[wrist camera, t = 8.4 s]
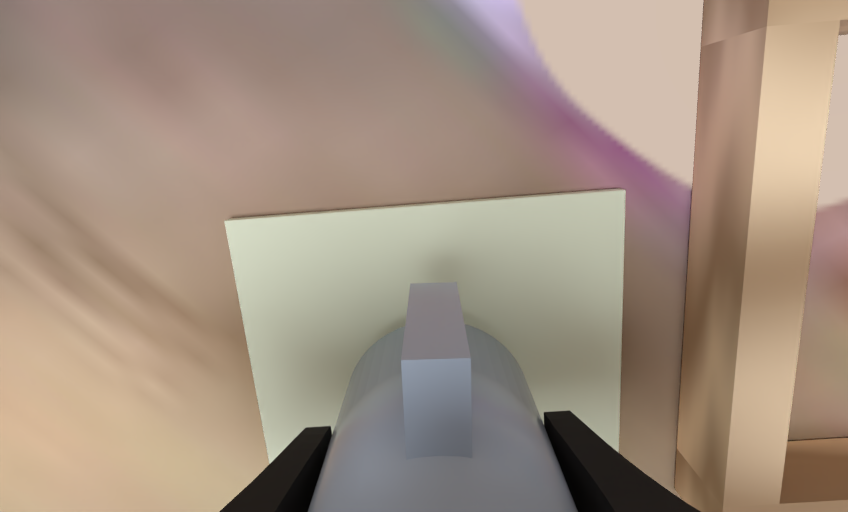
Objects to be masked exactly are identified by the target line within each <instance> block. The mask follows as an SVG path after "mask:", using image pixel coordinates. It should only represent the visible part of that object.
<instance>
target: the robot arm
mask: <svg viewBox="0 0 848 512" xmlns="http://www.w3.org/2000/svg"><path fill="white" fill-rule="evenodd" d="M544 427H545V429H546V432H547V434H548V437H549V439H550V442H551V444H552V447H553V449H554V452H555V454H556V457H557V460H558V462H559V465H560V467H561V470H562V472H563V475H564V477H565V480H566V482H567V485H568V488H569V490H570V493H571V495H572V498H573V500H574V503H575V505H576V508H577V510H578V512H701V511H699V510H697V509H696V508H694V507H693V506H691V505H689V504H688V503H686V502H685V501H683V500H681V499H680V498H679V497H677V496H676V495H674V494H673V493H671V492H670V491H668V490H667V489H665V488H664V487H663V486H661V485H660V484H658V483H657V482H656V481H654V480H653V479H652V478H650V477H649V476H647V475H646V474H645V473H643V472H642V471H641V470H640V469H638V468H637V467H636V466H634V465H633V464H632V463H630V462H629V461H628V460H627V459H625V458H624V457H623V456H622V455H621V454H619V453H618V452H617V451H616V450H614V449H613V448H612V447H611V446H610V445H609V444H607V443H606V442H605V441H604V440H603V439H602V438H600V437H599V436H598V435H597V434H596V433H595V432H594V431H592V430H591V429H590V428H589V427H588V426H587V425H586V424H585V423H583V422H582V421H581V420H580V419H579V418H578V417H577V416H576V415H574V414H573V413H572V412H571V411H570V410H569V411H553V412H544ZM331 437H332V431H331V426H321V427H306V428H305V429H304V430H303V431H302V432H301V433H300V434H299V435H298V436H297V437H296V438H295V439H294V440H293V441H292V442H291V443H290V444H289V445H288V446H287V447H286V448H285V449H284V450H283V451H282V452H281V453H280V454H279V455H278V456H277V457H276V458H275V459H274V460H273V461H272V462H271V463H270V464H269V465H268V466H267V467H266V468H265V469H264V470H263V471H262V472H261V473H260V474H259V475H258V476H257V477H256V478H255V479H254V480H253V481H252V482H251V483H250V484H249V485H248V486H247V487H246V488H245V489H244V490H243V491H242V492H240V493H239V494H238V495H237V496H236V497H235V498H234V499H233V500H232V501H231V502H229V503H228V504H227V505H226V506H225V507H224V508H223V509H222V510H221V511H220V512H308V509H309V506H310V503H311V500H312V497H313V494H314V490H315V487H316V484H317V481H318V478H319V475H320V472H321V468H322V465H323V462H324V459H325V456H326V453H327V450H328V446H329V443H330V440H331Z"/></svg>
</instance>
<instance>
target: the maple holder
mask: <svg viewBox="0 0 848 512" xmlns="http://www.w3.org/2000/svg"><path fill="white" fill-rule="evenodd" d="M703 5H704V6H703V20H702V37H701V54H700V70H699V88H698V103H697V120H696V137H695V153H694V170H693V186H692V202H691V219H690V236H689V252H688V269H687V285H686V302H685V318H684V335H683V352H682V368H681V385H680V401H679V418H678V434H677V451H676V467H675V484H674V488H675V489H676V491H677V492H678V494H679V495H680V497H681V498H682V500H683V501H685V502H686V503H688V504H689V505H691V506H693V507H694V508H696V509H697V510H699V511H701V512H848V438H833V439H817V440H801V441H787V439H788V431H789V423H790V415H791V407H792V399H793V392H794V384H795V376H796V368H797V360H798V352H799V344H800V336H801V328H802V320H803V312H804V304H805V296H806V289H807V281H808V273H809V265H810V257H811V249H812V241H813V233H814V225H815V217H816V209H817V200H818V193H819V185H820V177H821V170H822V169H821V168H822V161H823V153H824V146H825V138H826V130H827V122H828V114H829V106H830V97H831V90H832V82H833V74H834V66H835V58H836V51H837V43H838V35H846V34H848V0H704V4H703Z"/></svg>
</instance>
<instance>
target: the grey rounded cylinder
mask: <svg viewBox="0 0 848 512" xmlns="http://www.w3.org/2000/svg"><path fill="white" fill-rule="evenodd" d="M308 512H578V510H577V508H576V505H575V503H574V500H573V498H572V495H571V493H570V490H569V488H568V485H567V482H566V480H565V477H564V475H563V472H562V470H561V467H560V465H559V462H558V460H557V457H556V454H555V452H554V449H553V447H552V444H551V442H550V439H549V437H548V434H547V432H546V429H545V427H544V424H543V421H542V419H541V416H540V414H539V411H538V409H537V406H536V404H535V401H534V399H533V396H532V394H531V391H530V388H529V386H528V383H527V381H526V378H525V376H524V373H523V371H522V369H521V367H520V365H519V363H518V362H517V360H516V359H515V358H514V356H513V355H512V354H511V352H510V351H509V350H508V349H507V348H506V347H505V346H504V345H503V344H502V343H500V342H499V341H498V340H497V339H495V338H494V337H493V336H491V335H489V334H487V333H486V332H484V331H482V330H480V329H477V328H475V327H473V326H470V325H466V324H464V319H463V313H462V308H461V303H460V297H459V292H458V287H457V282H441V283H410V290H409V298H408V307H407V315H406V323H405V326H404V327H401V328H398V329H396V330H394V331H392V332H390V333H388V334H386V335H385V336H384V337H382V338H381V339H379V340H378V341H376V342H375V343H374V344H373V345H372V346H371V347H370V348H369V349H368V350H367V351H366V352H365V353H364V355H363V356H362V357H361V358H360V360H359V362H358V363H357V365H356V366H355V368H354V371H353V373H352V375H351V377H350V381H349V384H348V387H347V390H346V393H345V396H344V399H343V403H342V406H341V409H340V412H339V415H338V418H337V421H336V424H335V428H334V431H333V434H332V437H331V440H330V443H329V446H328V450H327V453H326V456H325V459H324V462H323V465H322V468H321V472H320V475H319V478H318V481H317V484H316V487H315V490H314V494H313V497H312V500H311V503H310V506H309V509H308Z"/></svg>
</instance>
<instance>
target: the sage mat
mask: <svg viewBox="0 0 848 512" xmlns="http://www.w3.org/2000/svg"><path fill="white" fill-rule="evenodd" d="M625 194H626V190H624V189H621V188H617V189H604V190H591V191H578V192H565V193H552V194H539V195H526V196H513V197H501V198H488V199H475V200H462V201H449V202H436V203H423V204H410V205H397V206H384V207H372V208H359V209H346V210H333V211H320V212H307V213H294V214H281V215H268V216H255V217H243V218H230V219H228V220H225V221H224V222H225V227H226V233H227V238H228V243H229V249H230V254H231V260H232V265H233V270H234V276H235V281H236V286H237V292H238V297H239V303H240V308H241V313H242V319H243V324H244V330H245V335H246V340H247V346H248V351H249V357H250V362H251V367H252V373H253V378H254V384H255V389H256V394H257V400H258V405H259V410H260V416H261V421H262V427H263V432H264V437H265V443H266V448H267V454H268V459H269V464H270V463H271V462H272V461H273V460H274V459H275V458H276V457H277V456H278V455H279V454H280V453H281V452H282V451H283V450H284V449H285V448H286V447H287V446H288V445H289V444H290V443H291V442H292V441H293V440H294V439H295V438H296V437H297V436H298V435H299V434H300V433H301V432H302V431H303V430H304V429H305V428H306V427H321V426H331V431H332V434H333V431H334V428H335V424H336V421H337V418H338V415H339V412H340V409H341V406H342V403H343V399H344V396H345V393H346V390H347V387H348V384H349V381H350V377H351V375H352V373H353V371H354V368H355V366H356V365H357V363H358V362H359V360H360V358H361V357H362V356H363V355H364V353H365V352H366V351H367V350H368V349H369V348H370V347H371V346H372V345H373V344H374V343H375V342H376V341H378V340H379V339H381V338H382V337H384V336H385V335H386V334H388V333H390V332H392V331H394V330H396V329H398V328H401V327H404V326H405V323H406V315H407V307H408V298H409V290H410V283H441V282H457V287H458V292H459V297H460V303H461V308H462V313H463V319H464V324H466V325H470V326H473V327H475V328H477V329H480V330H482V331H484V332H486V333H487V334H489V335H491V336H493V337H494V338H495V339H497V340H498V341H499V342H500V343H502V344H503V345H504V346H505V347H506V348H507V349H508V350H509V351H510V352H511V354H512V355H513V356H514V358H515V359H516V360H517V362H518V363H519V365H520V367H521V369H522V371H523V373H524V376H525V378H526V381H527V383H528V386H529V388H530V391H531V394H532V396H533V399H534V401H535V404H536V406H537V409H538V411H539V414H540V416H541V419H542V421H543V424H544V412H553V411H569V410H570V411H571V412H572V413H573V414H574V415H576V416H577V417H578V418H579V419H580V420H581V421H582V422H583V423H585V424H586V425H587V426H588V427H589V428H590V429H591V430H592V431H594V432H595V433H596V434H597V435H598V436H599V437H600V438H602V439H603V440H604V441H605V442H606V443H607V444H609V445H610V446H611V447H612V448H613V449H614V450H616V451H617V452H618V453H619V427H620V388H621V349H622V311H623V272H624V233H625Z"/></svg>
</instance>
